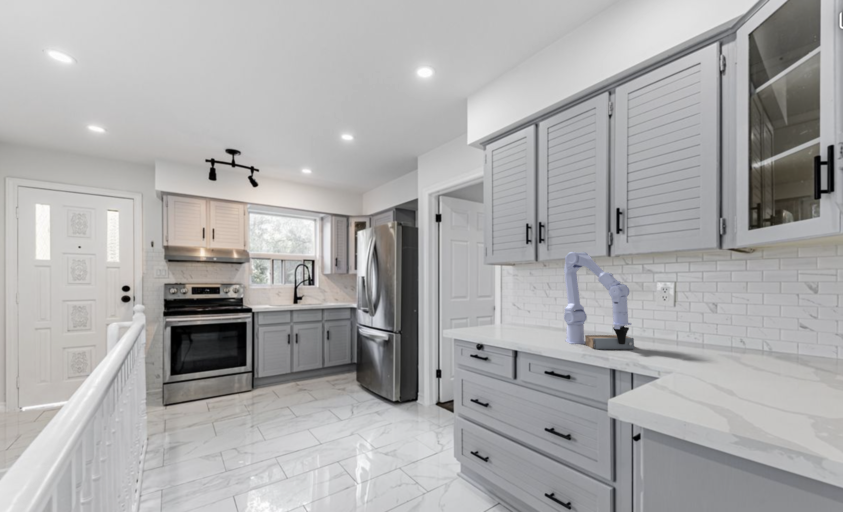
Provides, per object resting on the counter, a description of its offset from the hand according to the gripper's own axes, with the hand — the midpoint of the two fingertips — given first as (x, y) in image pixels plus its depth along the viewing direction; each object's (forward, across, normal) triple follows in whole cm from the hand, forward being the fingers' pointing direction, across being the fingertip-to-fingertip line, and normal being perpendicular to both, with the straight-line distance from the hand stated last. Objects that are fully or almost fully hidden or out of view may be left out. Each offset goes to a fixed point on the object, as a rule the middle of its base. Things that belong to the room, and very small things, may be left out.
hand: (621, 344), depth 157 cm
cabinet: (+2, +4, +6) cm, 8 cm away
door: (+2, 0, +3) cm, 4 cm away
